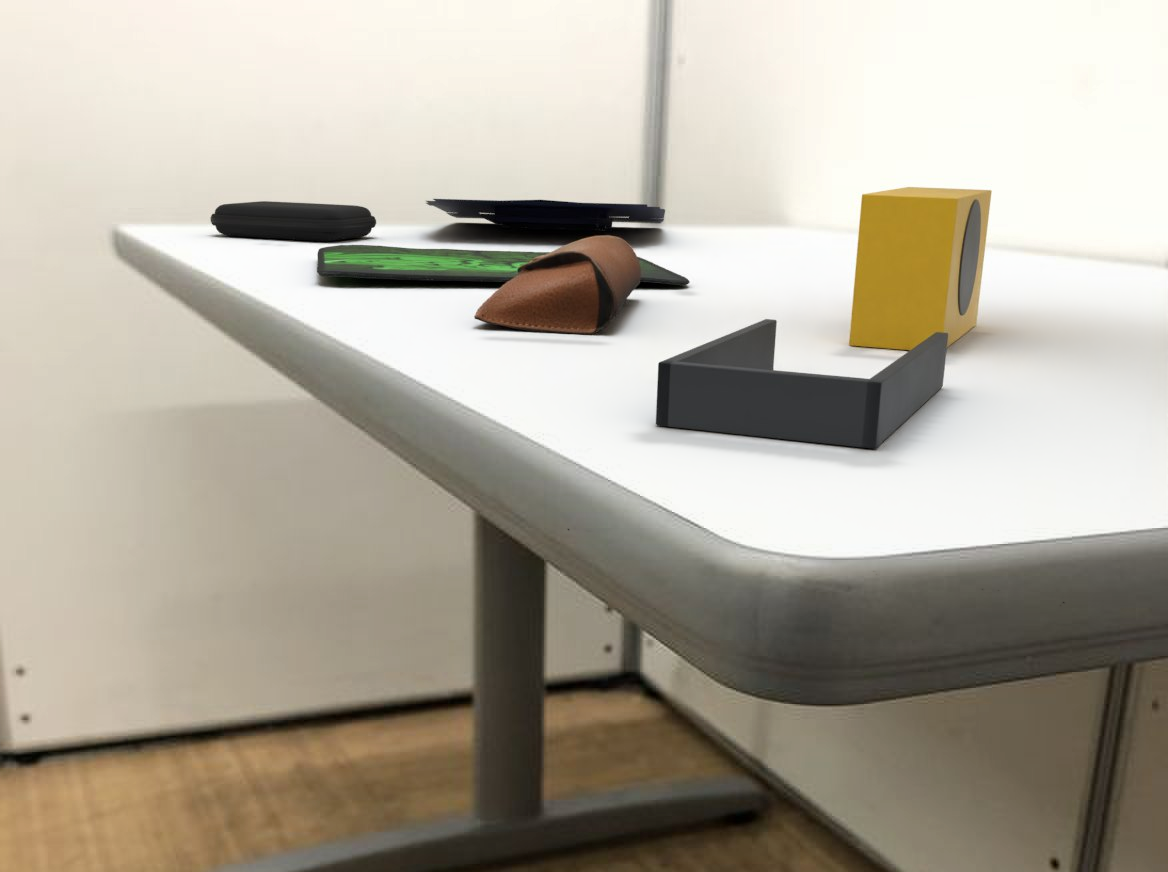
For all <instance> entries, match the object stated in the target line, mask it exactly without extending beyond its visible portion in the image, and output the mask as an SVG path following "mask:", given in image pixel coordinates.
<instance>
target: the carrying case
mask: <svg viewBox="0 0 1168 872" xmlns="http://www.w3.org/2000/svg"><path fill="white" fill-rule="evenodd" d="M209 220H210V223H211V225H212V226H215V229H216V230H217V232H218V233H219V234H221V235H225V236H229V237H244V238H259V239H260V238H261V239H274V240H275V239H278V240H291V241H292V240H293V241H294V240H295V241H312V242H314V241H315V242H333V241H340V240H348V239H356V238H363V237H367V236H368V235H370V233H371V232H372V230H373V229H375V227H376V225H377V219H376V217H375V216H374V215H372V212H371V211H370V209H368V208H367V207H364V206H361V205H355V204H354V205H351V204H335V203H334V204H333V203H312V202H292V201H291V202H290V201H289V202H288V201H269V200H267V201H266V200H264V201H263V200H262V201H261V200H260V201H246V202H235V203H234V202H233V203H224V204H221V205H218V206H217V207H216V208H215V210H214V213H211V216H210V219H209Z"/></svg>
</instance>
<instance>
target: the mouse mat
mask: <svg viewBox="0 0 1168 872" xmlns="http://www.w3.org/2000/svg"><path fill="white" fill-rule="evenodd" d="M550 252H551V251H516V250H515V251H513V250H477V249H455V248H412V247H401V246H400V247H399V246H388V245H373V244H371V245H370V244H340V245H331V246H330V245H329V246H324V247H320V248H319V249H318V251H317V263H316V264H317V267H316V273H317V274H318V275H319V276H321V277H336V278H337V277H340V278H341V277H342V278H356V279H357V278H358V279H376V280H377V279H378V280H380V279H381V280H401V281H435V282H436V281H438V282H483V283H484V282H485V283H487V282H488V283H507V282H508V281H510V280H511V279H513V278H515V277H516V276H517V275H518V271H517V269H518V268H519V267H520V266H522V265H524V264H526V263H528V262H530V261H532V260H533V258H535V257H539V256H541V255H546V254H548V253H550ZM637 258H638V260H639V263H640V268H641V280H640V283H641V282H642V283H651V284H652V283H653V284H664V285H672V286H673V285H674V286H687V285H689V284H690V282H691V281H690V280H689V279H688V278H687V277H686V276H682V275H681V274H678V273H677V272H674V271H671V270H669V269H667V268H665V267H663V266H661V265H658V264H655V263H654V262H652V261H649V260H648V259H646V258H642V257H641V256H637Z"/></svg>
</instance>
